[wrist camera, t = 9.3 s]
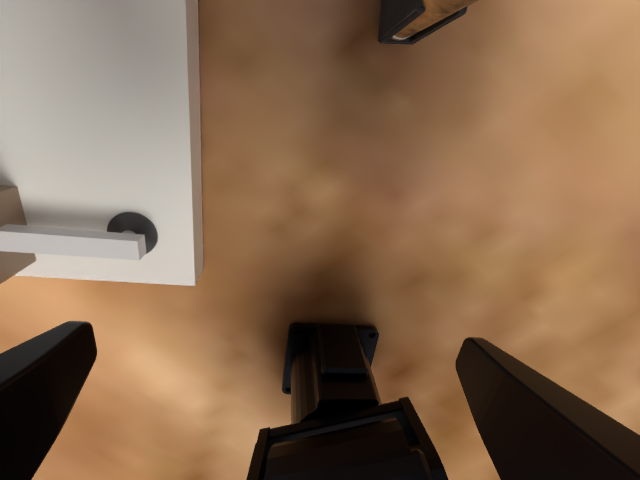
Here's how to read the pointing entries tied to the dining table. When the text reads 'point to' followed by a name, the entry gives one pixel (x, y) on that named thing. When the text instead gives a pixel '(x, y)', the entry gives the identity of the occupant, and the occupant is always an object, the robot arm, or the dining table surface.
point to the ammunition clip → (416, 18)
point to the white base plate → (100, 140)
